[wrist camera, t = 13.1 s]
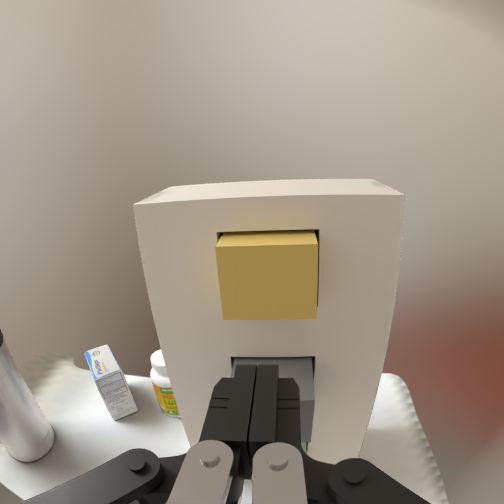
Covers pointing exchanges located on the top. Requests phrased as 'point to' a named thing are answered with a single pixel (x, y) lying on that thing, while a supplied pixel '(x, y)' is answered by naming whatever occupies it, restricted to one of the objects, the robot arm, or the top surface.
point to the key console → (277, 331)
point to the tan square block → (268, 274)
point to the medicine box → (111, 382)
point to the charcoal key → (304, 378)
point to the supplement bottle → (163, 385)
